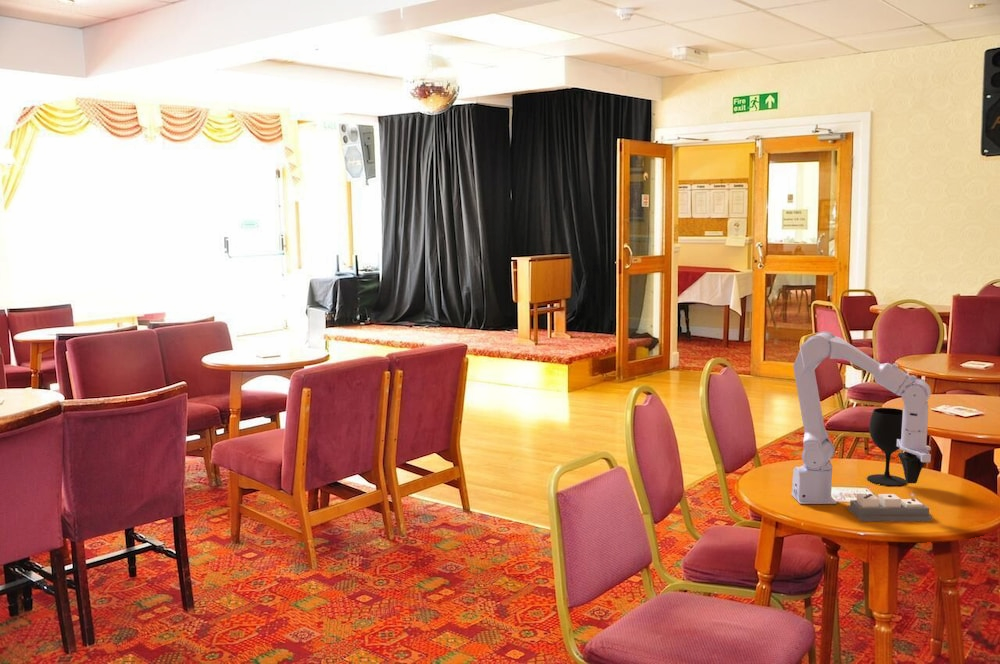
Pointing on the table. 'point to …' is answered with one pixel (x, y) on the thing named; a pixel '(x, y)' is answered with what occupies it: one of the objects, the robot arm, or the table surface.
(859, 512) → the tile board
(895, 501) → the tile one
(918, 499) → the pencil
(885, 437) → the wine glass
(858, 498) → the tile three
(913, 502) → the tile two
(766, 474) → the table surface
